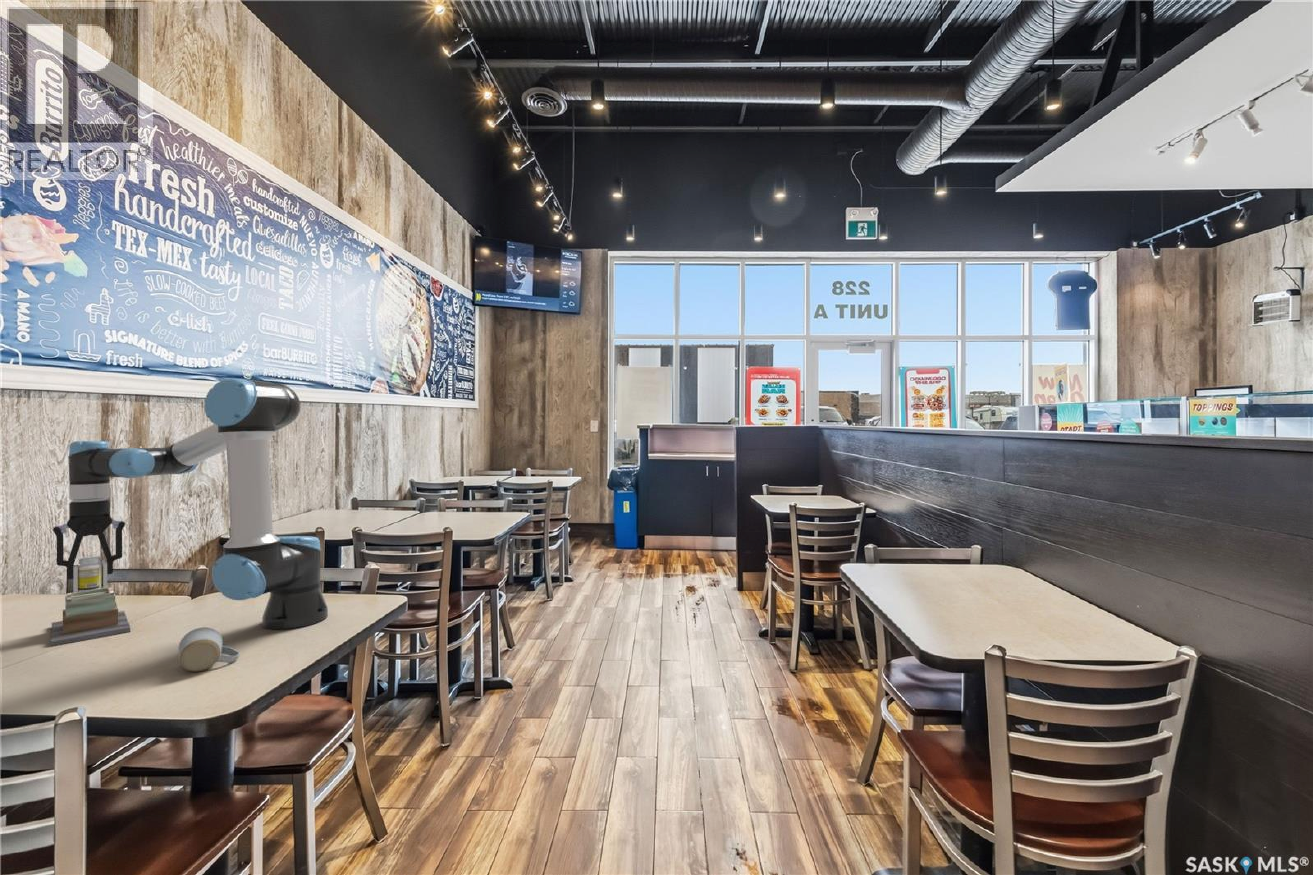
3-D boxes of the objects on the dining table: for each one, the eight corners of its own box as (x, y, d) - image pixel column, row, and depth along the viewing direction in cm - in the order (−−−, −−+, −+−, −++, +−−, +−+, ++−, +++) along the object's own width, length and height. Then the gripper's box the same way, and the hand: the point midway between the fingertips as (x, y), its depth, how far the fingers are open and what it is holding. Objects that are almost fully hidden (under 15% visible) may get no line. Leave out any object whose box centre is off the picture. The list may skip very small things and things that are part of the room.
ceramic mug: (177, 677, 119) (178, 640, 119) (178, 665, 126) (179, 630, 126) (240, 665, 126) (241, 630, 126) (238, 654, 132) (238, 621, 132)
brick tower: (130, 631, 147) (130, 595, 147) (51, 646, 137) (50, 607, 137) (124, 615, 161) (123, 581, 161) (51, 627, 151) (51, 591, 150)
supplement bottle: (89, 587, 151) (88, 556, 151) (108, 587, 151) (108, 555, 151) (72, 592, 146) (71, 560, 146) (92, 592, 146) (91, 559, 146)
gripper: (134, 496, 158) (135, 580, 158) (40, 501, 145) (40, 593, 145) (137, 498, 152) (137, 585, 153) (39, 504, 140) (40, 599, 140)
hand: (90, 588), depth 149 cm, fingers closed on supplement bottle, 5 cm apart
